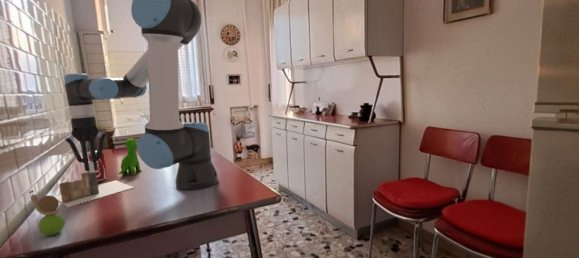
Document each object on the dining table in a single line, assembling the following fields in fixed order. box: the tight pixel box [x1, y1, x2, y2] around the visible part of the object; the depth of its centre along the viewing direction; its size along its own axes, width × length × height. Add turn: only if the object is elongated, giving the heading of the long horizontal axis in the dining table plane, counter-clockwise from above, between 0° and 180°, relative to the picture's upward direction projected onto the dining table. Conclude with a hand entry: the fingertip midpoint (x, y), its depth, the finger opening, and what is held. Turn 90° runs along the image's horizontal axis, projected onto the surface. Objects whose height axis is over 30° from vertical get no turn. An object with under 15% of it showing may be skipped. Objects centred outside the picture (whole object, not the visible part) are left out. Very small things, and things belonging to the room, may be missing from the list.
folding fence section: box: [80, 171, 90, 190], centre depth 111 cm, size 9×3×6 cm, turn 46°
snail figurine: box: [28, 190, 66, 236], centre depth 78 cm, size 5×6×12 cm
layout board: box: [54, 179, 135, 208], centre depth 110 cm, size 16×21×1 cm
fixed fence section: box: [58, 172, 99, 204], centre depth 104 cm, size 11×3×8 cm, turn 141°
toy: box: [118, 137, 142, 176], centre depth 131 cm, size 6×14×15 cm, turn 174°
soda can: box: [88, 150, 108, 182], centre depth 125 cm, size 5×5×12 cm
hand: (92, 178), depth 115 cm, fingers closed
